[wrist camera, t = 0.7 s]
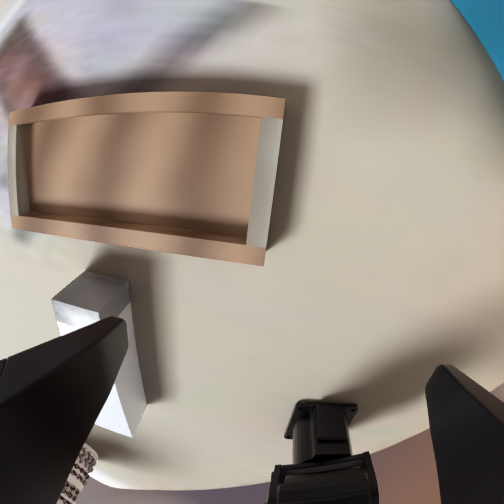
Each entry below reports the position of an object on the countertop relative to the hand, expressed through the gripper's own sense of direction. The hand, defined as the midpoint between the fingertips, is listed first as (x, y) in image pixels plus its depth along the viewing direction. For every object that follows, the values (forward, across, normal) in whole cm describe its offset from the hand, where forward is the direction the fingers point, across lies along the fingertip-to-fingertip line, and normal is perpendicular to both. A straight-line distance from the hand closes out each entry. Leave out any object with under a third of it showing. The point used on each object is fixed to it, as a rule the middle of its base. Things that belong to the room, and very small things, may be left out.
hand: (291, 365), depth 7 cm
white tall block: (+14, +13, +14) cm, 24 cm away
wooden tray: (+13, +12, -3) cm, 18 cm away
